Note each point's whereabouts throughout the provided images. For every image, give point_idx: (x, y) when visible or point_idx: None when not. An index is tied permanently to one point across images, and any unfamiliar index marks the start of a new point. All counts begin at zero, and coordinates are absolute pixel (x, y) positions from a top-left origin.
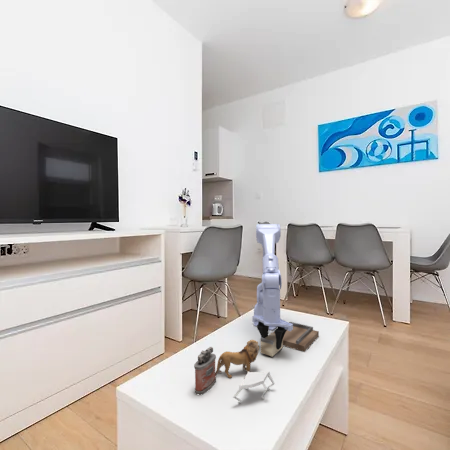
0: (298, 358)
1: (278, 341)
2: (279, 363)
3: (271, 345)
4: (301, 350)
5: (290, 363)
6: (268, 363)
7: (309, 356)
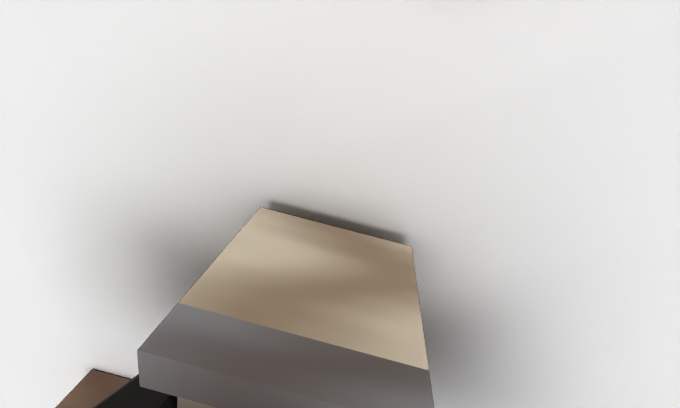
0: (77, 274)
1: (113, 399)
2: (171, 131)
3: (207, 294)
4: (110, 378)
5: (86, 172)
6: (275, 82)
7: (32, 321)
